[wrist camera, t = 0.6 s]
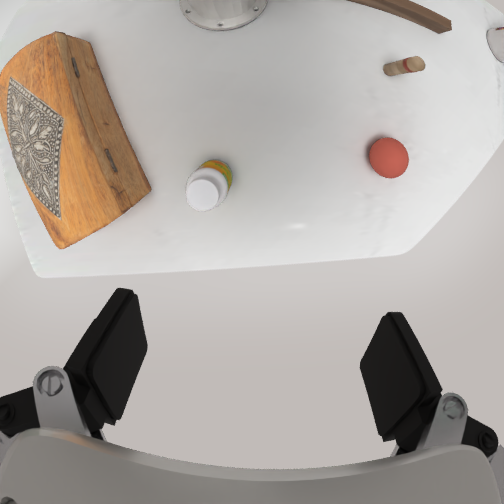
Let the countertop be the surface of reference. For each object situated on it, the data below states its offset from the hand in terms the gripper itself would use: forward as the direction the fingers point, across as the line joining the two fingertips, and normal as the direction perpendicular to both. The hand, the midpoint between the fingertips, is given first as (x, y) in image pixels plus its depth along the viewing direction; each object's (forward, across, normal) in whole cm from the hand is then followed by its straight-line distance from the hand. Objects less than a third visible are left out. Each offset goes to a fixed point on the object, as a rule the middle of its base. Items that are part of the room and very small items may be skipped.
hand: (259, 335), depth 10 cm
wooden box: (+33, +30, -6) cm, 45 cm away
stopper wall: (+32, -17, -31) cm, 48 cm away
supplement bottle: (+33, +7, +2) cm, 34 cm away
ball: (+30, -18, -5) cm, 35 cm away
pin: (+32, -18, -19) cm, 42 cm away
